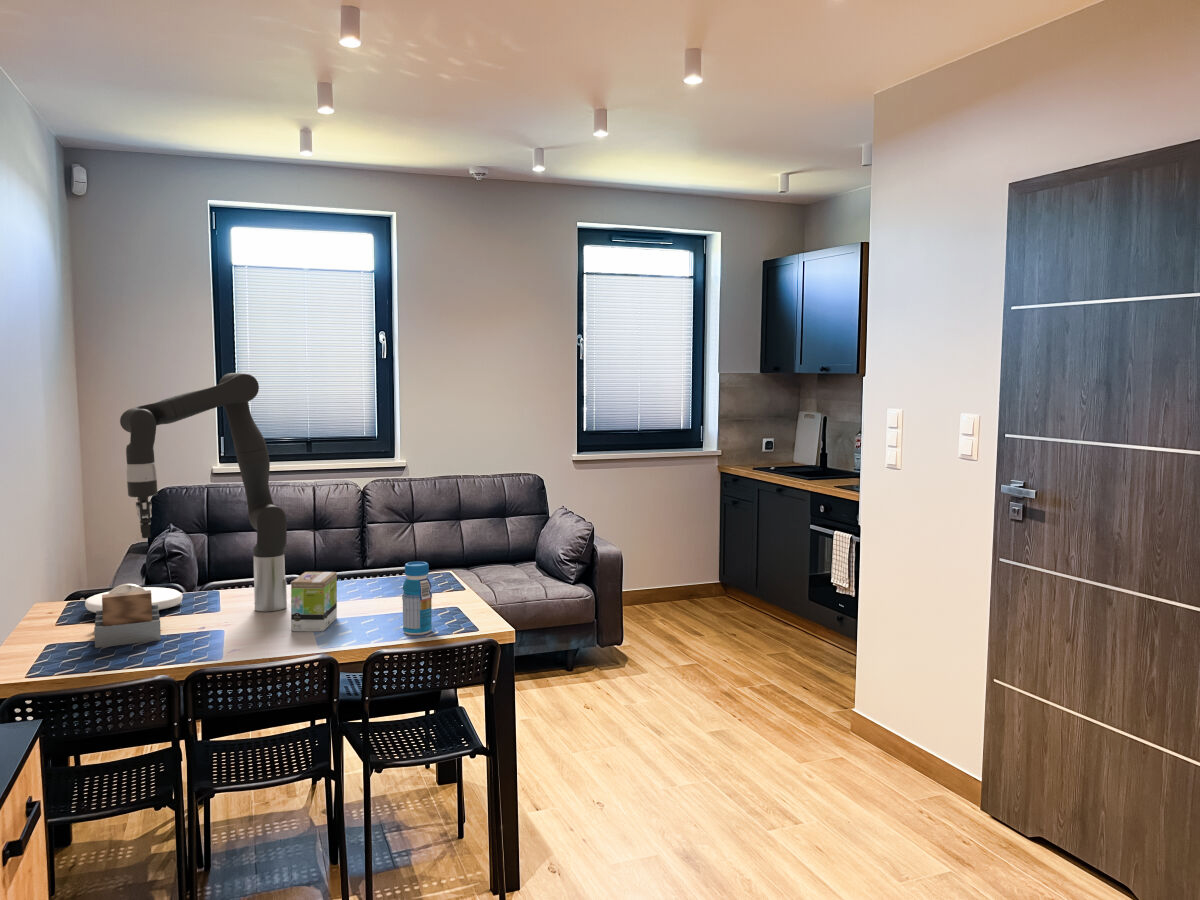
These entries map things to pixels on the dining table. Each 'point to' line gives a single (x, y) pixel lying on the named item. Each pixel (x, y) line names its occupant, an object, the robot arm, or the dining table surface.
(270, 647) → the dining table surface
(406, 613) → the beverage bottle
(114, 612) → the walnut board
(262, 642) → the dining table surface
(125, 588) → the dish rack
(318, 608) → the tea box
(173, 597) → the plate
